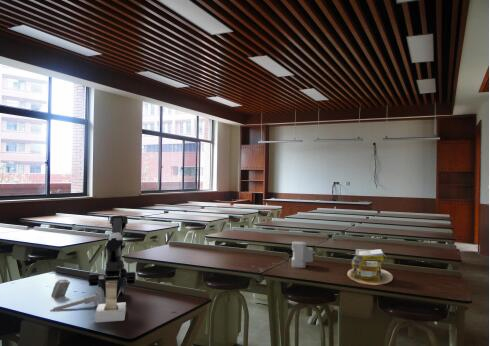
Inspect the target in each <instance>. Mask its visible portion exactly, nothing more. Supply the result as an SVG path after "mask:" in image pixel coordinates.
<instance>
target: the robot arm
mask: <svg viewBox="0 0 490 346" xmlns="http://www.w3.org/2000/svg"><path fill="white" fill-rule="evenodd" d="M128 221H129V218H128V216H127V215H125V214H114V215H112V216H110V217H109V224H110V225H111V229H112V230H111V234H110V235H109V236H108V238H107V240H106V242H105V245H104V249H105V250H106V256H107V259H106V260H107V261H106V262H105V270H104V274H105V275H100V273H97V272H96V273H89V275H88V277H87V278H88V286H90V287H92V286H93V287H94V286H95V287H98V288H101V290H102V292H103V297H104V299H105V300H106V283H107V281H117V293H116V298H117V299H118V297H119V296H120V295H123V294H124V291H125V289H124V287H125V286H127V285H133V284H134V285H135V284H136V282H137V280H136V278H137V275H136V274H137V273H136V272H135V271H127V269H126V267H125V263H124V260H123V259H122V258H123V255H122V254H123V250H124V249H125V248H126V242H125V240H124V239H123V238H124V236H123V235H124V232H125V231H126V229H127V225H128Z"/></svg>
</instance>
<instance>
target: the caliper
mask: <svg viewBox="0 0 490 346" xmlns="http://www.w3.org/2000/svg"><path fill="white" fill-rule="evenodd" d="M97 300H98V301H99V304H103V301H102V300H103V297H102V294H101V293H100V292H99V291H97V292H95V294H93V295H90V296H87V297H84V298H82V299H80V300H76V301H72V302H69V303H65V304H61V305H57V306H55V307H52V308H51V309H49V311H50V312H52V311H54V312H55V310H57V311H61V310H64V309H67V308H71V307H74V306H78V305H82V304H84V305H88V304H90V303H92V302H93V303H94V304H95V307H98V302H97Z"/></svg>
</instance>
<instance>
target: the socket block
mask: <svg viewBox="0 0 490 346" xmlns="http://www.w3.org/2000/svg"><path fill="white" fill-rule="evenodd" d="M126 312H127V303H126V301H125V302H123V301H122V302H117V310H106V303H102V304H100V303H97V306H96V311H95V313H94V323H96V324H97V323H107V322H108V323H109V322H120V321H125V319H126Z"/></svg>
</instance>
